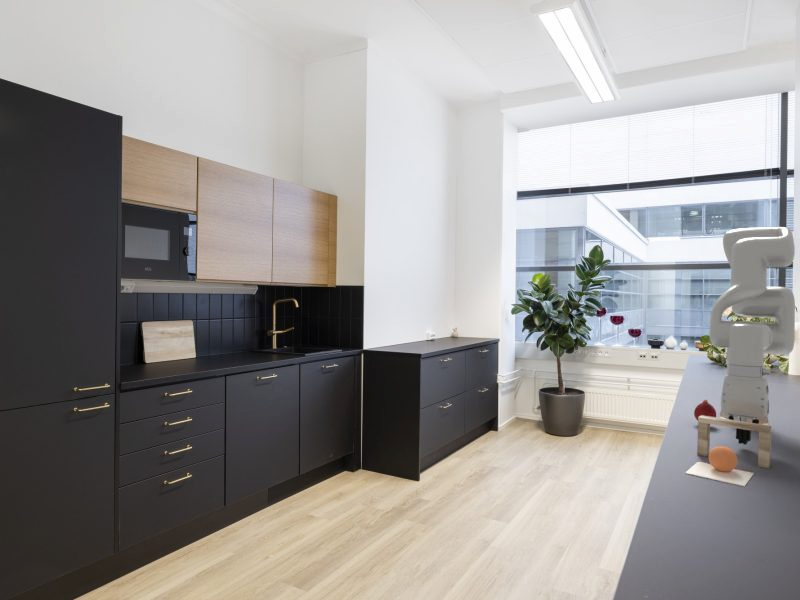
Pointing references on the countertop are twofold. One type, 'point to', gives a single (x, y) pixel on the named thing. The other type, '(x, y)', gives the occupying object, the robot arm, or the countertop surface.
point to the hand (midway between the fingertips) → (743, 442)
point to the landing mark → (720, 474)
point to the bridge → (763, 430)
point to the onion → (704, 410)
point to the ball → (723, 459)
